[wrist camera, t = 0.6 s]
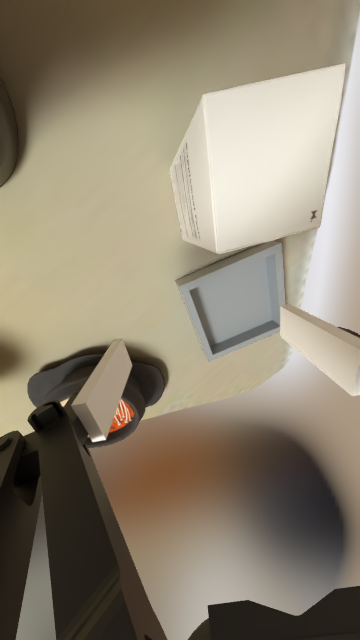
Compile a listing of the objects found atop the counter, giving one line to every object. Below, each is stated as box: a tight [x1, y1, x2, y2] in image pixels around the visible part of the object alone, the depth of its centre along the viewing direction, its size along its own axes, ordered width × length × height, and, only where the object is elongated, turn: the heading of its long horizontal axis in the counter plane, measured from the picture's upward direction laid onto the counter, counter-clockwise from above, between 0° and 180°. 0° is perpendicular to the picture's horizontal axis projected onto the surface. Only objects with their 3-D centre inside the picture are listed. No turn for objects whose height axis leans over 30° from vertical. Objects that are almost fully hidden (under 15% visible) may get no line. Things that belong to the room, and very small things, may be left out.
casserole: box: [28, 354, 165, 448], centre depth 33 cm, size 25×19×8 cm
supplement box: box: [170, 63, 346, 254], centre depth 18 cm, size 9×9×15 cm
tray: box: [175, 241, 286, 361], centre depth 32 cm, size 16×16×4 cm
